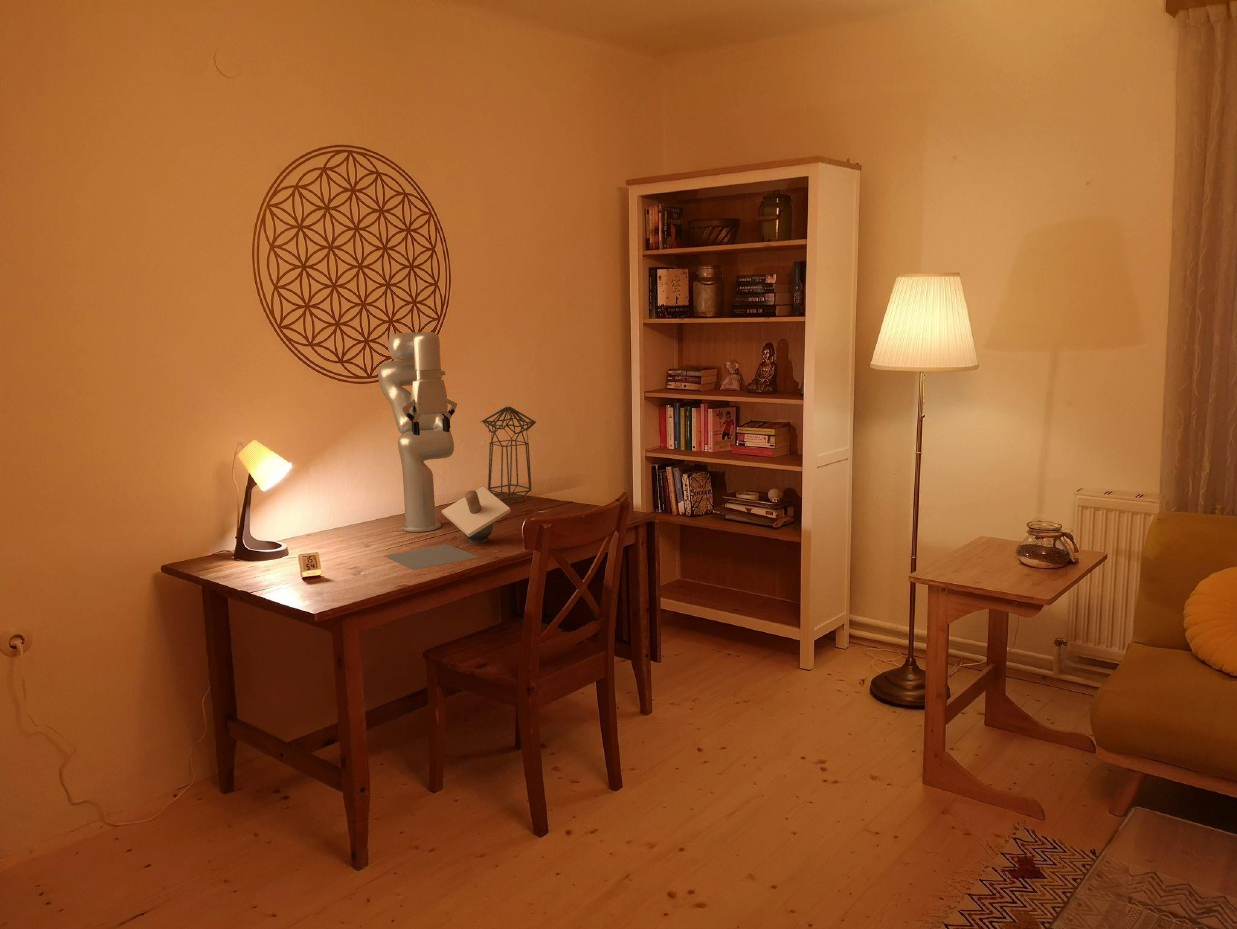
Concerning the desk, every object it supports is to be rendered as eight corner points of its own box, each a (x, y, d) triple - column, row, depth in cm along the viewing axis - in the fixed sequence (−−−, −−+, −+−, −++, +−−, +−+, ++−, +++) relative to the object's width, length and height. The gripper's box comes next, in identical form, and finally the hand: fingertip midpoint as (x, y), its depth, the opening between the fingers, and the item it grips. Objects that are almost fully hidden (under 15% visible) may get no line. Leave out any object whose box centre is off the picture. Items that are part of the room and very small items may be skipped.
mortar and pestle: (480, 547, 282) (478, 507, 281) (455, 544, 287) (453, 505, 285) (503, 539, 292) (501, 500, 290) (479, 536, 297) (477, 498, 295)
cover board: (442, 513, 288) (436, 495, 284) (483, 489, 295) (478, 471, 290) (468, 537, 279) (463, 519, 274) (510, 511, 285) (505, 493, 280)
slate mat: (383, 557, 274) (383, 555, 273) (446, 546, 285) (446, 544, 285) (413, 571, 258) (413, 569, 258) (479, 559, 269) (479, 556, 269)
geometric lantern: (515, 496, 361) (513, 403, 355) (539, 502, 349) (538, 407, 343) (479, 501, 351) (477, 406, 345) (503, 508, 339) (501, 410, 333)
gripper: (449, 373, 290) (451, 429, 293) (395, 377, 280) (399, 435, 283) (460, 374, 284) (463, 431, 287) (406, 378, 274) (409, 437, 277)
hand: (431, 433), depth 285 cm, fingers open, 9 cm apart
